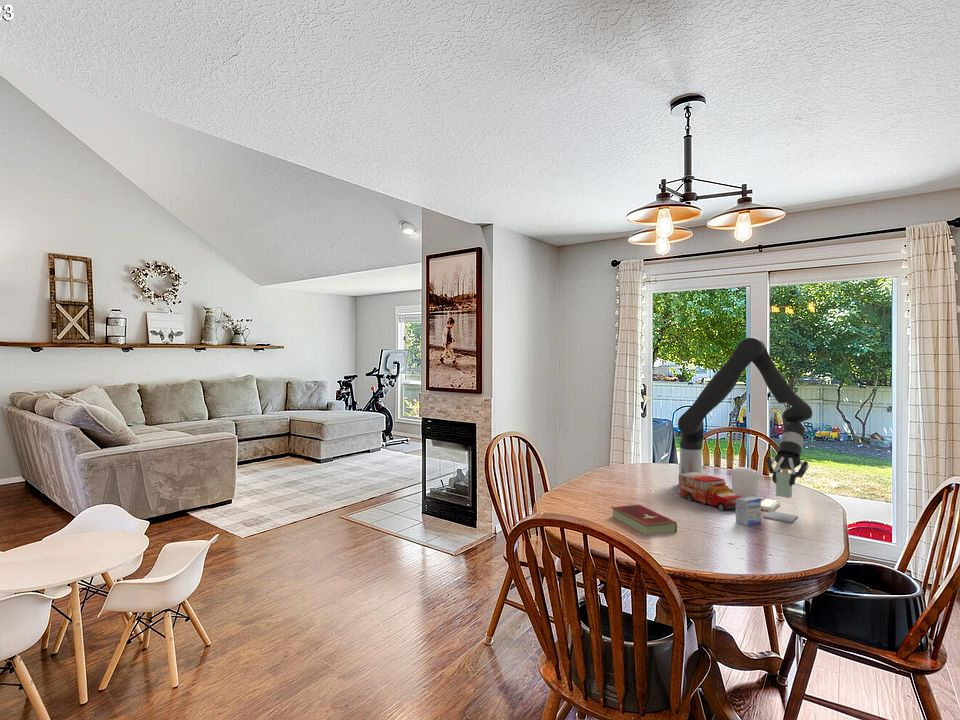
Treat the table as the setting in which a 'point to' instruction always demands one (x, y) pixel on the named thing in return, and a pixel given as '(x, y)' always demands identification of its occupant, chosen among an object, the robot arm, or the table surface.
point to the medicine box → (748, 510)
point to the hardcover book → (644, 519)
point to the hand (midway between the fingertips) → (782, 483)
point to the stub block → (783, 485)
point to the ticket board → (769, 504)
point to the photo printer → (745, 482)
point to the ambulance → (707, 490)
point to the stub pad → (780, 516)
